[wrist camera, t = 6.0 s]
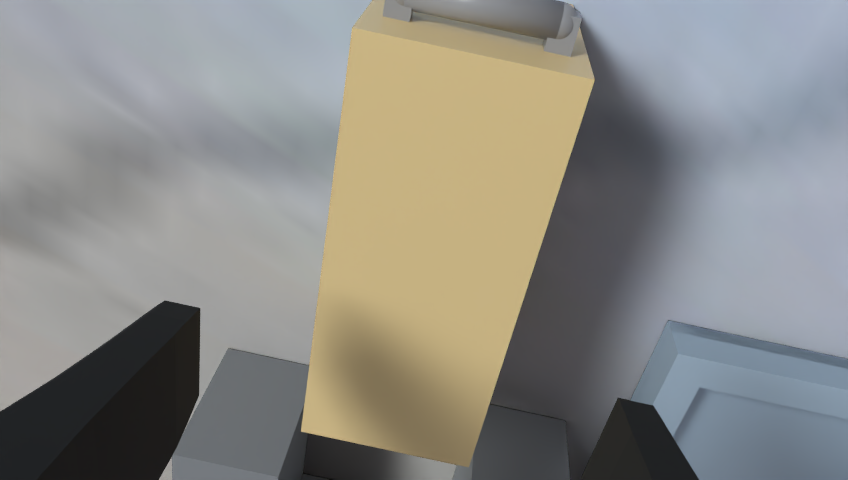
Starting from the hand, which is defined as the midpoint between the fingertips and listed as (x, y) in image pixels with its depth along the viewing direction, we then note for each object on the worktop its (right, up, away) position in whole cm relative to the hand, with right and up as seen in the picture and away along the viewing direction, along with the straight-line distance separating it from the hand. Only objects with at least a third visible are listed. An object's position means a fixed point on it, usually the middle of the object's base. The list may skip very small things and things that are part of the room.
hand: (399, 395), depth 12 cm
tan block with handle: (+1, +5, +7) cm, 9 cm away
